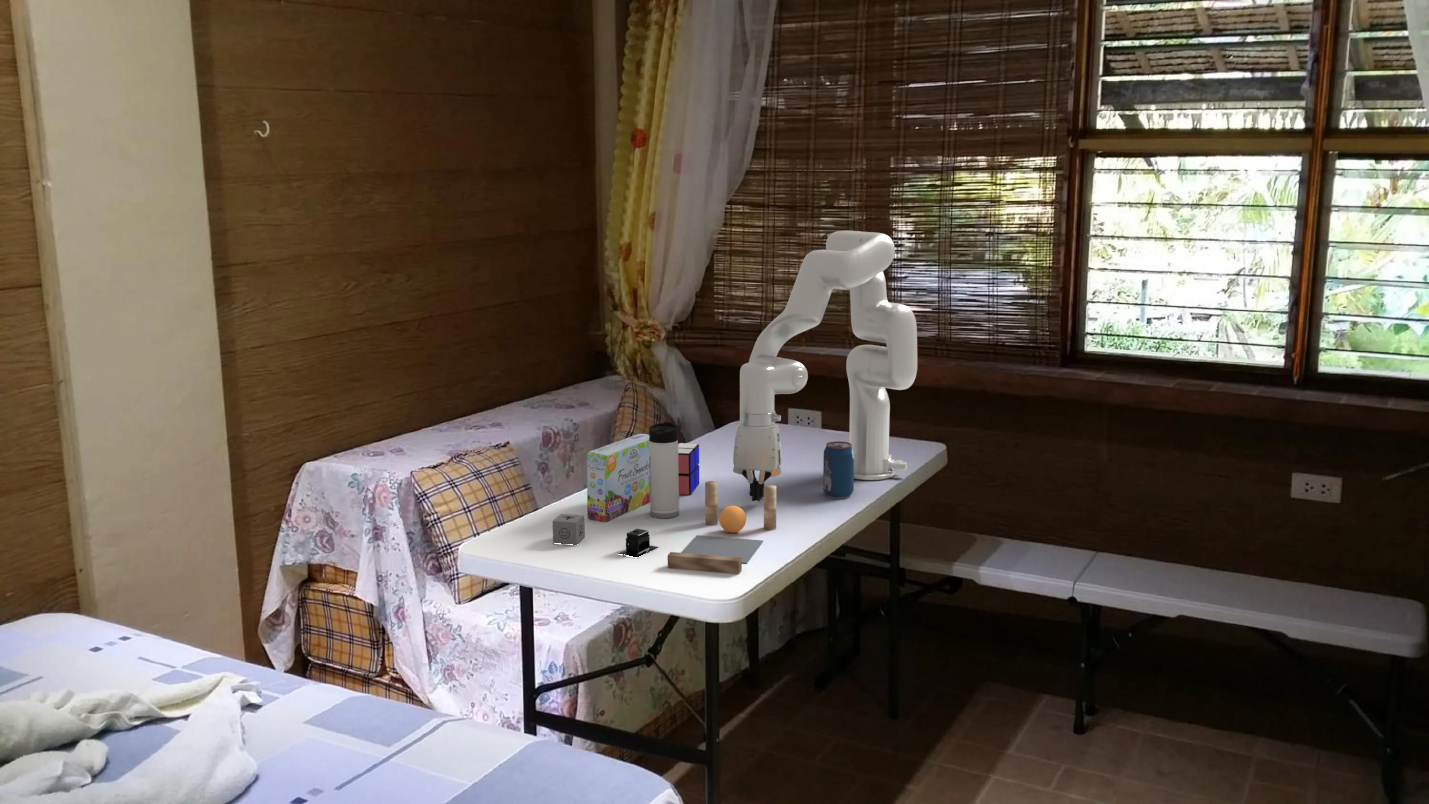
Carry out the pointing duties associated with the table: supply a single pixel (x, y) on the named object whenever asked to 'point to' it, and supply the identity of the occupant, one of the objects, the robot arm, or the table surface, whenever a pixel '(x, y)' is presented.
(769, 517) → the post near
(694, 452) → the puzzle cube
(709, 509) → the post far
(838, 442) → the soda can
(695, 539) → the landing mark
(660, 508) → the travel mug
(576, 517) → the dice cube
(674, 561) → the stopper wall
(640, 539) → the black boxy piece
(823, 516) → the table surface
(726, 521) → the ball
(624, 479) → the snack box
